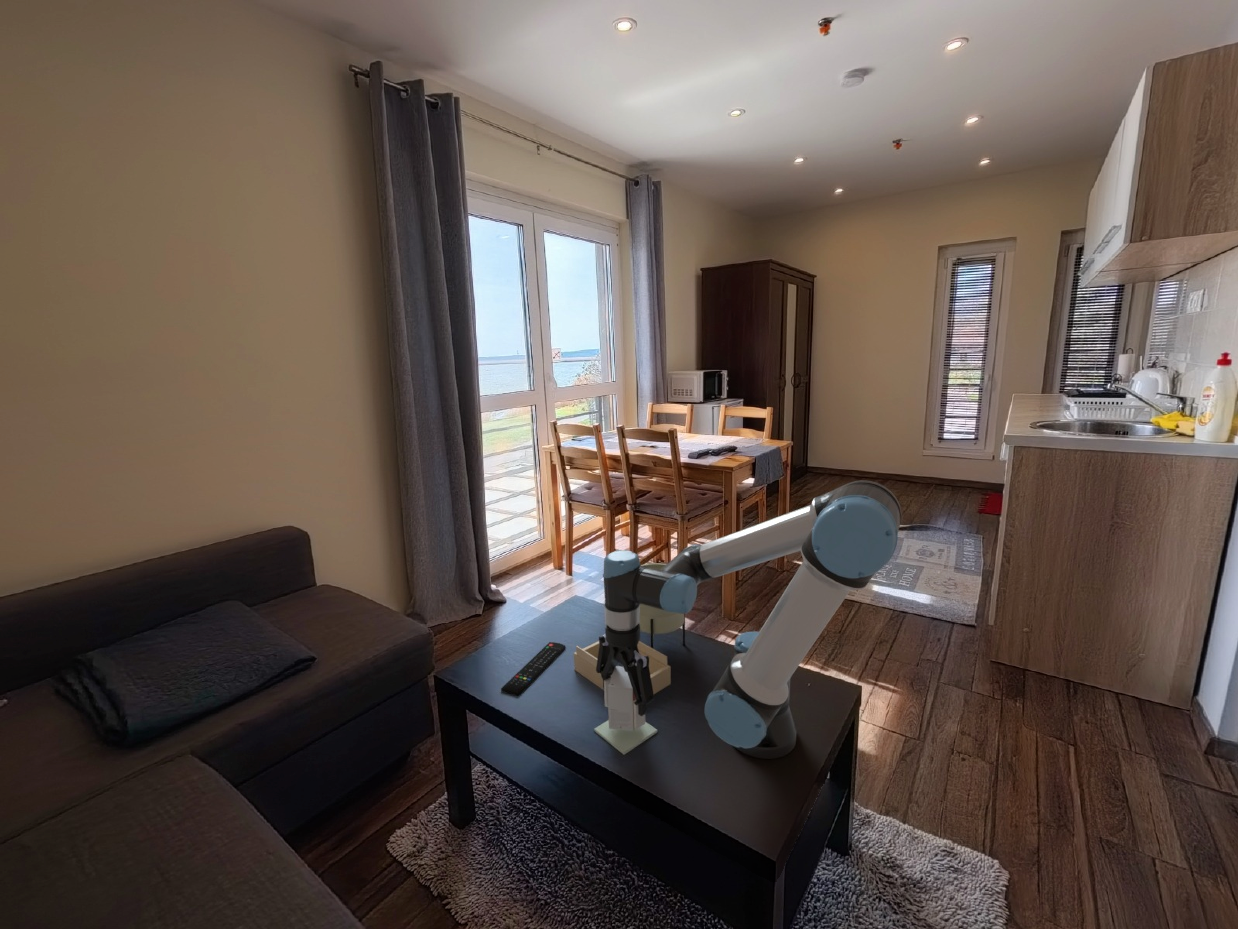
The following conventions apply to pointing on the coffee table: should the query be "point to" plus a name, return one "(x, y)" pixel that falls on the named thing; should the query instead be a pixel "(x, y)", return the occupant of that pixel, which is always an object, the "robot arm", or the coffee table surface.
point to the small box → (620, 701)
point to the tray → (657, 663)
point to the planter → (660, 617)
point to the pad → (625, 736)
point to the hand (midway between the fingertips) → (624, 714)
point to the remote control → (533, 669)
